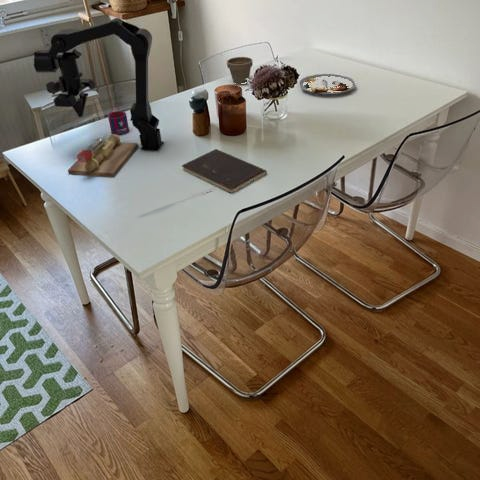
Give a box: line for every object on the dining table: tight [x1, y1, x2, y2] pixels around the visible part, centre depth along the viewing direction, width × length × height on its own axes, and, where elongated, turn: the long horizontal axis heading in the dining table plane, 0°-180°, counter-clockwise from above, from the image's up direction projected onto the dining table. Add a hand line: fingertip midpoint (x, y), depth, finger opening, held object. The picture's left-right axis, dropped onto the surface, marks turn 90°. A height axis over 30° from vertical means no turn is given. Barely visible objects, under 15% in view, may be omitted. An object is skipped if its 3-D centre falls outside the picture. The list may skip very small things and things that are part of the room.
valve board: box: [67, 133, 139, 178], centre depth 175 cm, size 16×22×6 cm
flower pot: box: [226, 56, 254, 85], centre depth 229 cm, size 12×11×10 cm
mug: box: [107, 110, 130, 136], centre depth 195 cm, size 7×10×7 cm
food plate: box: [299, 73, 357, 95], centre depth 222 cm, size 25×23×4 cm
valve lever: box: [76, 136, 106, 162], centre depth 168 cm, size 14×3×2 cm, turn 165°
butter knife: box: [178, 186, 218, 203], centre depth 153 cm, size 1×27×3 cm
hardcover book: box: [181, 148, 268, 194], centre depth 166 cm, size 16×23×2 cm
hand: (80, 116), depth 178 cm, fingers closed
